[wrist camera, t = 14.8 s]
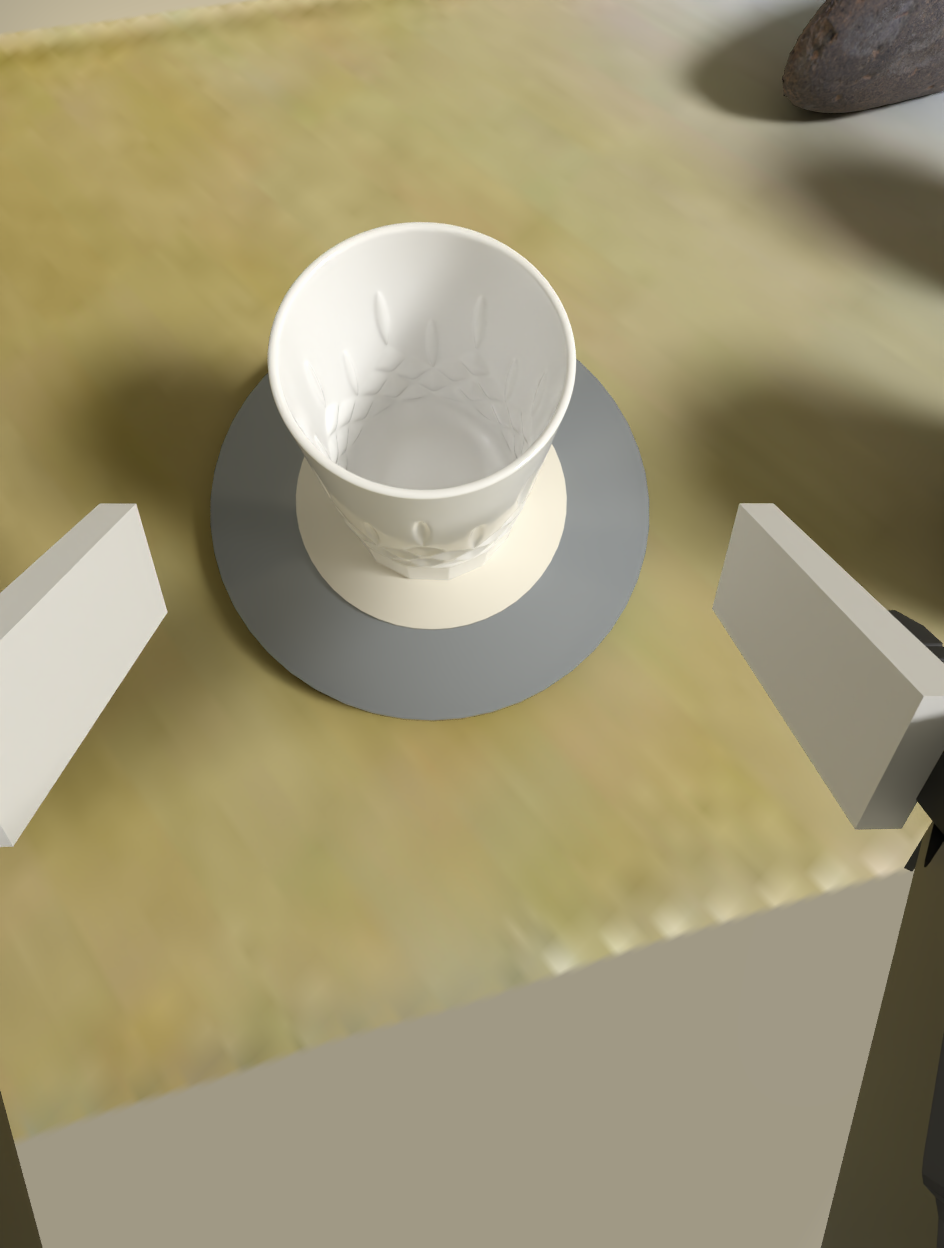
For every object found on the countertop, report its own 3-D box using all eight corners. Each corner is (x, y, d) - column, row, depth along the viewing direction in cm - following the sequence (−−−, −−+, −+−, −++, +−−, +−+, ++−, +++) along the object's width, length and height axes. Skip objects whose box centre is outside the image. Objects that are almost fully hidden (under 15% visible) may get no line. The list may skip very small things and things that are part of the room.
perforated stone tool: (780, 163, 32) (869, 5, 25) (735, 81, 33) (810, -93, 26) (1036, 86, 34) (1184, -83, 27) (986, 9, 35) (1118, -173, 28)
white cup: (480, 386, 27) (498, 182, 18) (561, 550, 26) (629, 427, 16) (305, 455, 27) (222, 280, 17) (380, 628, 25) (336, 547, 15)
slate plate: (131, 508, 27) (113, 494, 26) (433, 252, 30) (432, 227, 29) (432, 817, 25) (431, 821, 24) (725, 510, 28) (740, 497, 27)
